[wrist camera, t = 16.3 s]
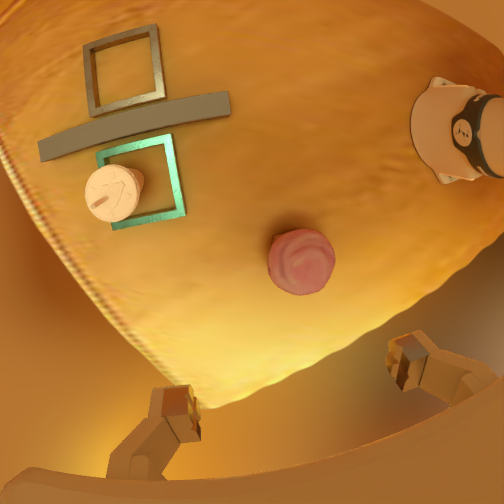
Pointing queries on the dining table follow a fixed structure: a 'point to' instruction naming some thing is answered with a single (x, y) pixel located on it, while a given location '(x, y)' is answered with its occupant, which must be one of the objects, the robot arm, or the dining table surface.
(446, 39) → the dining table surface
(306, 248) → the cupcake
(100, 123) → the door edge
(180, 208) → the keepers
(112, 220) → the smoothie
